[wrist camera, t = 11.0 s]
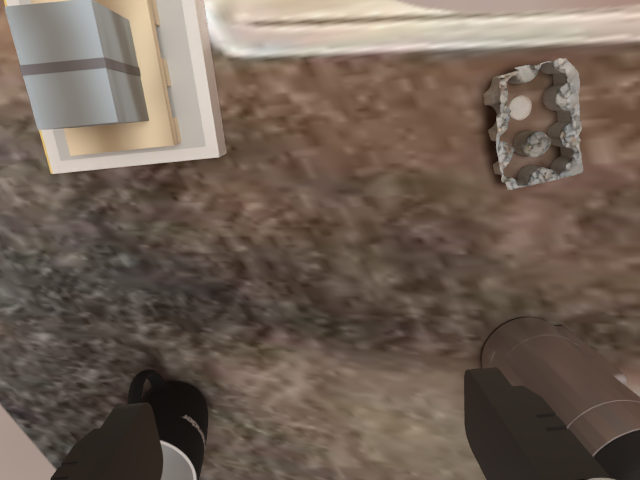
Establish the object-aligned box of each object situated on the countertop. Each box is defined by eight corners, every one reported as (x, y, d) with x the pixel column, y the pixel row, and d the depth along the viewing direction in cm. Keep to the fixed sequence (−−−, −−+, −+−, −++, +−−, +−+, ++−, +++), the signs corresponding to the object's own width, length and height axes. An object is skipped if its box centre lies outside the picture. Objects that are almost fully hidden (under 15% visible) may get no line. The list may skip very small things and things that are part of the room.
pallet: (154, -4, 33) (108, -43, 25) (181, 143, 36) (148, 151, 28) (48, 6, 32) (-34, -31, 24) (85, 153, 36) (22, 164, 28)
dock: (201, -15, 36) (189, -31, 32) (226, 153, 40) (219, 157, 36) (30, 0, 36) (-3, -14, 32) (73, 168, 40) (48, 174, 36)
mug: (226, 430, 49) (208, 509, 39) (148, 445, 49) (111, 528, 39) (198, 338, 45) (171, 399, 36) (115, 354, 45) (65, 419, 36)
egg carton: (477, 75, 40) (497, 71, 36) (557, 58, 40) (585, 52, 36) (488, 188, 43) (507, 195, 39) (562, 172, 43) (589, 177, 39)
